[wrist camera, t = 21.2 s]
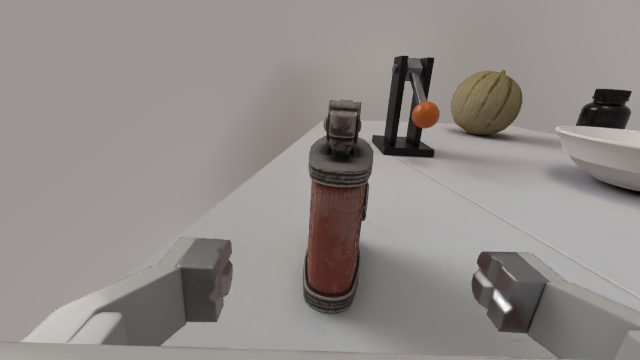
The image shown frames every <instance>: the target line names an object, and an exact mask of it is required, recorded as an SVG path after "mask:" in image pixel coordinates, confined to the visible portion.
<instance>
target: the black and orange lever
mask: <svg viewBox="0 0 640 360" xmlns="http://www.w3.org/2000/svg"><path fill="white" fill-rule="evenodd" d="M420 62H421V65H422V68H423V69H422V72H421V74H420V77H419V78H420V81H421V84H422V88H423V91H424V94H425V97H426V100H427V98H428V92H429V86H430V80H431V74H432V68H433V63H434V58H422V59H420ZM407 63H408V56H399V57H395V60H394V65H393V69H392V72H393V75H392V82H391V91H390V98H389V105H388V113H387V120H386V128H385V135H384V136H377V135H373V139H372V142H373V143H374V144H375V145H376V146H377V147H378V149H379V150H380V151H381V152H382V153H383V154H384V155H402V156H420V157H433V155H434V149H432V148H430V147H429V146H427V145H426V144H424V143H422V142H421V141H420V138H421V133H422V128H420V127H418V126H417V125H415V123H414V122H413V120H412V112H413V110H414V108H415V107H416V106H417V103H416V99H415V96H414V92H413V98H412V105H411V111H410V118H409V124H408V130H407V137H397V132H398V125H399V118H400V110H401V104H402V97H403V90H404V83H405V77H406V70H407Z"/></svg>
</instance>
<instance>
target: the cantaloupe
mask: <svg viewBox="0 0 640 360" xmlns="http://www.w3.org/2000/svg"><path fill="white" fill-rule="evenodd" d="M521 105H522V92H521V89H520V87H519V85H518V84H517V83H516V82H515V81H514V80H513V79H512V78H510V77H509V76H506V75H505V71H504V70H502V72H500V73H499V72H494V71H483V72H479V73H476V74H473V75H471V76H470V77H468V78H467V79H466V80H464V81H463V82H462V83H461V84H460V85H459V86H458V88H457V89H456V90H455V92H454V94H453V96H452V100H451V113H452V116H453V119H454V121H455V123H456V124H457V125H458V126H460V127H461V128H462V129H464V130H465V131H467V132H468V133H470V134H477V135H490V134H494V133H497V132H500V131H502V130H504V129H505V128H507V127H508V126H509V125H510V124H511V123H512V122H513V121H514V120H515V119H516V117H517V116H518V114H519V111H520V109H521Z"/></svg>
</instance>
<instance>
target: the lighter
mask: <svg viewBox="0 0 640 360" xmlns="http://www.w3.org/2000/svg"><path fill="white" fill-rule="evenodd" d="M360 110H361V103H360V102H354V101H348V100H340V101H333V100H330V104H329V111H328V116H327V117H326V118H325V120H324V129H325V131H327V136H325V137H323V138H321V139H319V140H317V141H316V142H315V143H314V144H313V145H312V146H311V150H310V153H309V173H310V178H311V179H312V186H311V204H310V222H309V240H308V246H307V249H306V253H305V260H304V268H303V290H304V299H305V302H306V303H307V304H308V305H309V306H310V307H312V308H314V309H316V310H318V311H322V312H327V313H336V312H340V311H344V310H345V309H347V308H349V307H350V305H351V304H352V302H353V298H354V295H355V291H356V288H357V284H358V276H359V267H360V250H359V238H360V229H361V221H364V220H365V218H366V210H367V202H368V193H369V184H368V179H369V177H370V175H371V171H372V163H373V150H372V148H371V147H370V145H369V144H368V143H367V142H366V141H365V140H363V139H361V138H358V133H359V131H360V130H361V121H360Z"/></svg>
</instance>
